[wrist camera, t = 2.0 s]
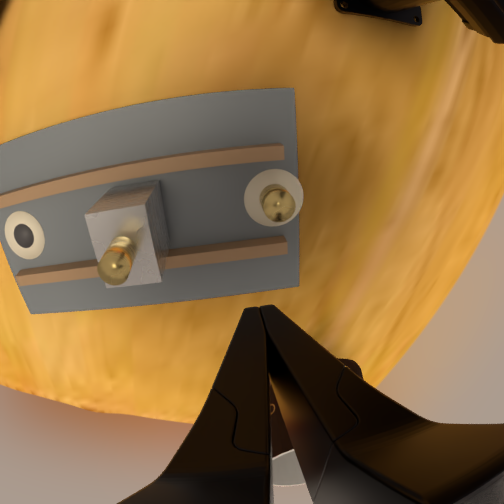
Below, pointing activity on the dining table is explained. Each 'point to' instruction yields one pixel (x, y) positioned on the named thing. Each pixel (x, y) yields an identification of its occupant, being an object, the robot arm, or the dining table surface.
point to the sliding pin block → (130, 235)
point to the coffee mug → (289, 441)
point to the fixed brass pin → (277, 203)
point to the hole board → (173, 195)
